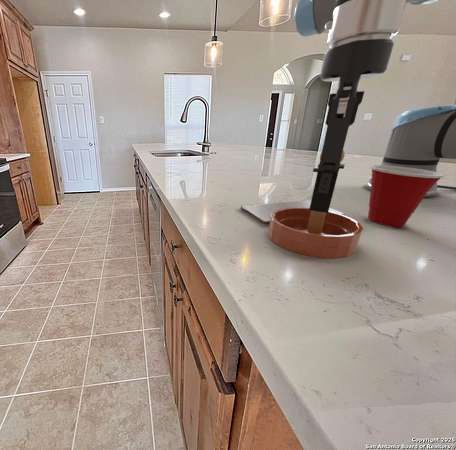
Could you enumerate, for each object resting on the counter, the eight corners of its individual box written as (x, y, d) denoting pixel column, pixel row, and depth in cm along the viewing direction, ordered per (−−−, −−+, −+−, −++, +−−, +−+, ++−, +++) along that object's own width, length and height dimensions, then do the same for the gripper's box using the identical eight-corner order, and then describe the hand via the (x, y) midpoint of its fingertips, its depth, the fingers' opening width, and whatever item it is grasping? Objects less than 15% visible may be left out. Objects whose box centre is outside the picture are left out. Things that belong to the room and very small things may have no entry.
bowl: (313, 224, 54) (318, 205, 52) (377, 256, 41) (385, 231, 39) (254, 230, 52) (256, 210, 50) (300, 265, 39) (306, 240, 37)
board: (309, 204, 66) (310, 200, 66) (344, 218, 56) (345, 213, 56) (240, 210, 64) (240, 206, 63) (263, 226, 54) (264, 221, 53)
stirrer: (313, 234, 47) (335, 143, 41) (334, 245, 43) (362, 145, 36) (291, 236, 46) (309, 144, 40) (309, 248, 42) (333, 147, 36)
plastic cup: (437, 235, 47) (465, 173, 42) (372, 232, 49) (392, 172, 44) (397, 215, 57) (417, 163, 52) (345, 213, 59) (360, 163, 54)
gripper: (329, 59, 41) (301, 194, 50) (320, 37, 29) (287, 218, 39) (389, 50, 36) (347, 200, 46) (405, 21, 25) (345, 228, 34)
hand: (319, 208), depth 42 cm, fingers closed on stirrer, 2 cm apart
